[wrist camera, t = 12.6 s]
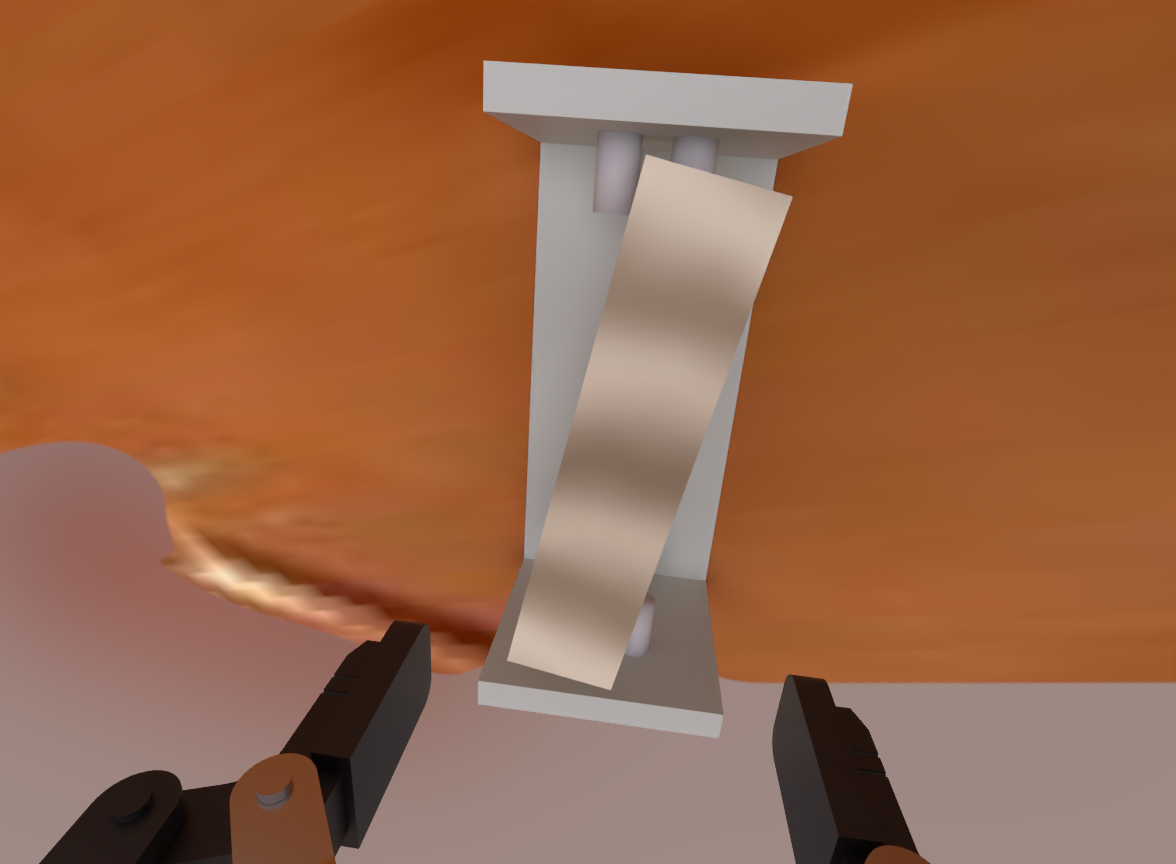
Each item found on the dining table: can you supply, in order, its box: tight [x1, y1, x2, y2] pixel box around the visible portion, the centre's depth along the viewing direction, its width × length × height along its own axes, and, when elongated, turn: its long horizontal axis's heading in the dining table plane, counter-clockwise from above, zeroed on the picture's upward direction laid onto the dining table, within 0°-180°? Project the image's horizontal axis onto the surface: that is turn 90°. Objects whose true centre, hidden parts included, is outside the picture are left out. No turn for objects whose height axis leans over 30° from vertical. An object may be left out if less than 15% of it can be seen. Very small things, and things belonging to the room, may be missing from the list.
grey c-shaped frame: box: [478, 61, 853, 738], centre depth 30 cm, size 28×12×12 cm, turn 176°
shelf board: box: [507, 155, 793, 690], centre depth 25 cm, size 22×5×4 cm, turn 165°
